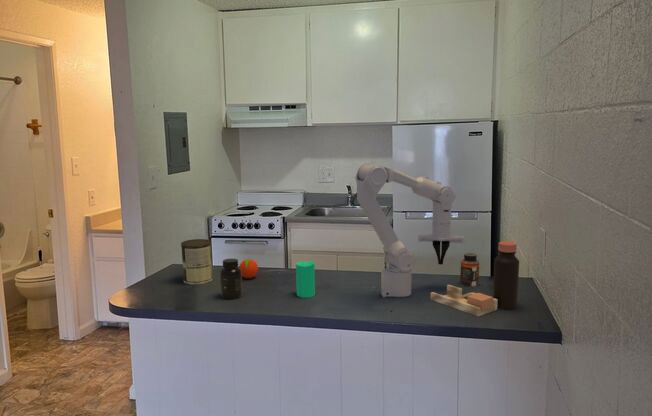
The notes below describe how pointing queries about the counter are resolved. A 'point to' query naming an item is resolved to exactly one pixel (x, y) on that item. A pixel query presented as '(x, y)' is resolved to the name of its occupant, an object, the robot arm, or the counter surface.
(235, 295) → the supplement bottle
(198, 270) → the coffee can
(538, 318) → the counter surface
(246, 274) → the red tomato
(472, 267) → the supplement bottle
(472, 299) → the block
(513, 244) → the vinegar
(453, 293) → the wooden tray
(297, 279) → the candle
